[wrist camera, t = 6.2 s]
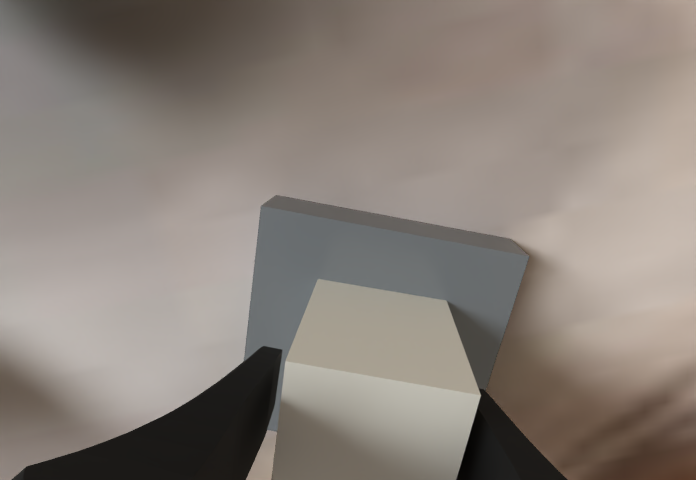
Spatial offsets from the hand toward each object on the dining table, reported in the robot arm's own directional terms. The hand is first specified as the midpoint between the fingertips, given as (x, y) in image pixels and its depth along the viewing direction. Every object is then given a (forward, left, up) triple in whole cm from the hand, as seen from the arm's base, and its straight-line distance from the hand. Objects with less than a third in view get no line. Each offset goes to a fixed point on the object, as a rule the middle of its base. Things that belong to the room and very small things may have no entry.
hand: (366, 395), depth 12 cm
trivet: (0, 0, -5) cm, 5 cm away
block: (0, 0, -3) cm, 3 cm away
